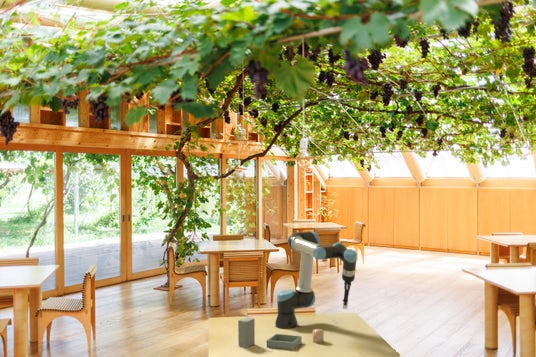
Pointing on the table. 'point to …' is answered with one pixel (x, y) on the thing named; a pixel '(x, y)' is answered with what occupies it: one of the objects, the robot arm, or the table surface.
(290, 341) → the bin
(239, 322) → the skincare box
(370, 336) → the table surface
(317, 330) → the peach rounded cylinder
